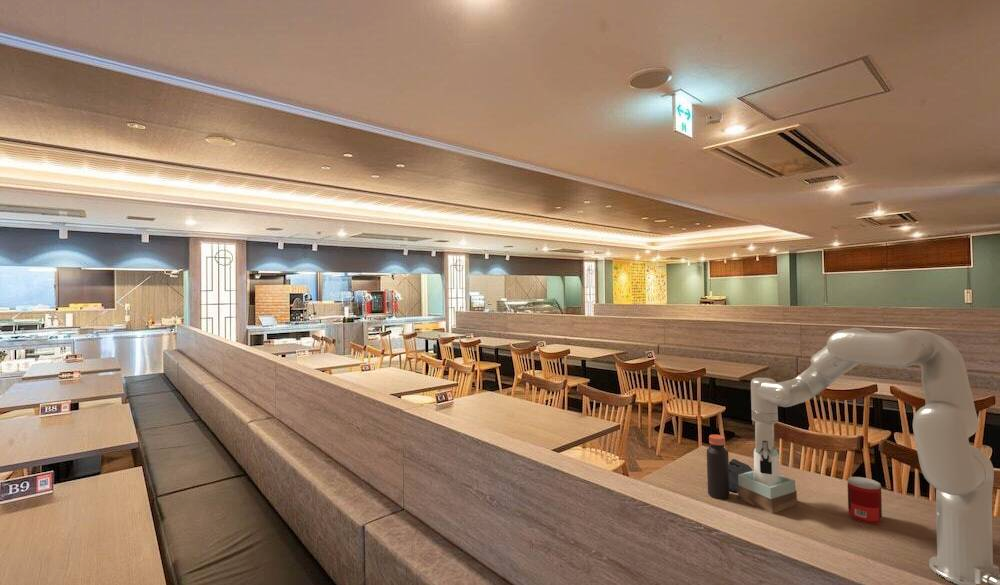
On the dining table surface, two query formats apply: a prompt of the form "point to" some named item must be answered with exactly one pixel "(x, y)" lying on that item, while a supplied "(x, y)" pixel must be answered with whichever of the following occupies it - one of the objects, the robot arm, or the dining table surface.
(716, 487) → the bottle
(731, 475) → the dark slate chunk
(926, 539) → the dining table surface
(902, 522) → the dining table surface
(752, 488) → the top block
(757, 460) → the can
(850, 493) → the canned food
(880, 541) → the dining table surface
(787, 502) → the bottom block
